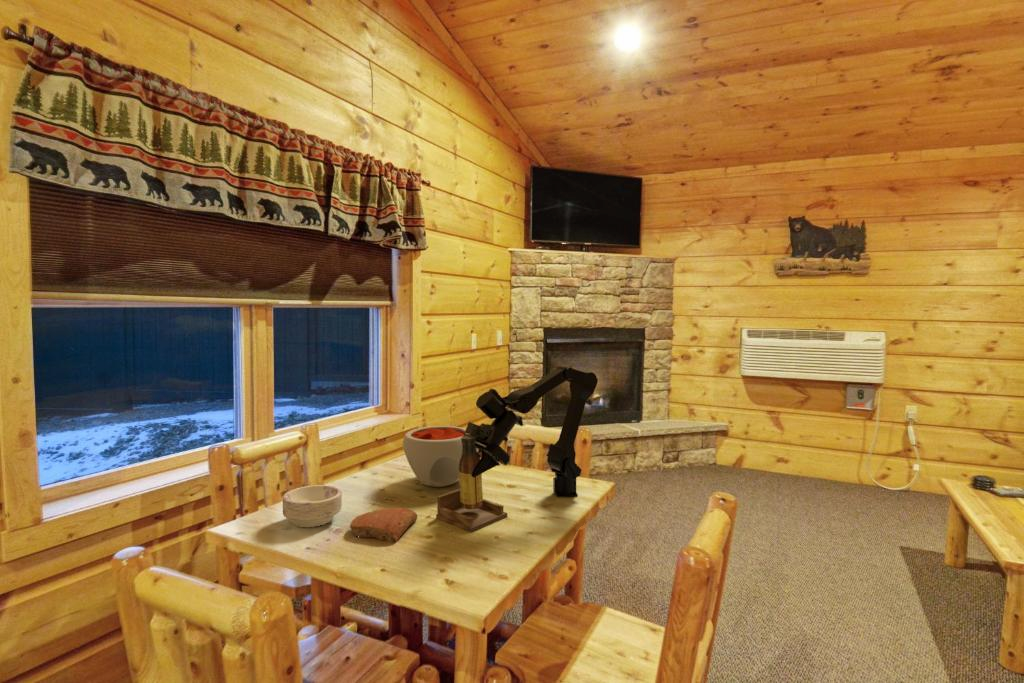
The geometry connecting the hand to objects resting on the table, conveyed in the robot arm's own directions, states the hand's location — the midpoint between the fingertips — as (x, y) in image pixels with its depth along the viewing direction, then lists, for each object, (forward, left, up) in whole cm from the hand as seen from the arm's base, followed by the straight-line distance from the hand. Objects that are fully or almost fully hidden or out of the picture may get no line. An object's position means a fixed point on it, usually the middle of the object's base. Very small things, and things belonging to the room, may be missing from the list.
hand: (466, 473), depth 149 cm
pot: (+9, -31, -13) cm, 34 cm away
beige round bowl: (+42, -2, -13) cm, 44 cm away
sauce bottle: (-1, -1, -10) cm, 10 cm away
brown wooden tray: (-1, -1, -13) cm, 13 cm away
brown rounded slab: (+22, +5, -13) cm, 27 cm away
